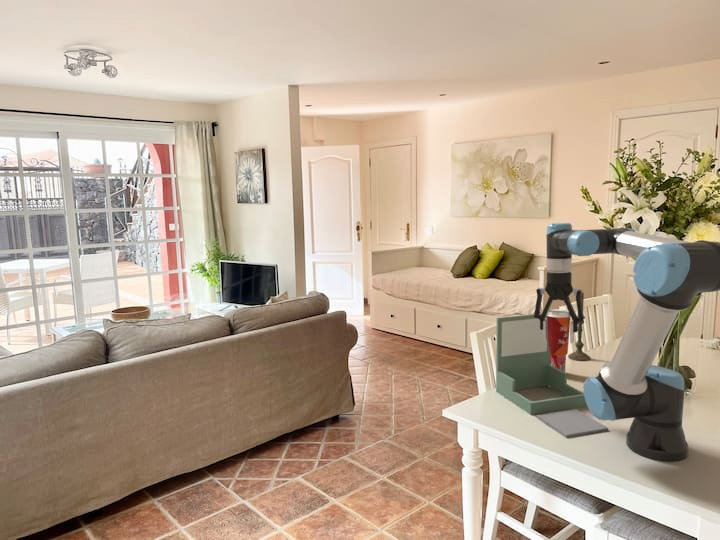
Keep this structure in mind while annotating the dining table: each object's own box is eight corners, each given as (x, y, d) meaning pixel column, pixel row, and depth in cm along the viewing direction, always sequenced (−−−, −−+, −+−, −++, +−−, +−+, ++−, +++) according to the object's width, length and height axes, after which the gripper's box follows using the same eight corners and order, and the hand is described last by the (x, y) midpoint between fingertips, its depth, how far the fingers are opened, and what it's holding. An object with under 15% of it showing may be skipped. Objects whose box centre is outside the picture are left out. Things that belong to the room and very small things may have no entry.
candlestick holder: (589, 355, 230) (591, 289, 226) (591, 361, 222) (593, 293, 218) (567, 354, 233) (568, 288, 229) (568, 360, 224) (570, 292, 220)
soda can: (567, 372, 209) (567, 341, 207) (563, 378, 203) (563, 346, 201) (548, 370, 213) (549, 339, 211) (544, 375, 207) (545, 343, 205)
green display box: (587, 406, 176) (589, 325, 172) (530, 414, 170) (531, 332, 166) (547, 384, 197) (549, 312, 193) (496, 391, 191) (496, 317, 187)
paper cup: (567, 357, 163) (567, 314, 162) (542, 354, 168) (542, 312, 166) (574, 351, 169) (574, 310, 168) (550, 349, 174) (550, 308, 173)
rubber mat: (608, 430, 157) (608, 427, 157) (565, 437, 153) (566, 435, 153) (575, 411, 172) (575, 409, 172) (536, 417, 168) (536, 415, 168)
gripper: (595, 270, 164) (594, 341, 166) (528, 269, 174) (528, 335, 177) (592, 273, 157) (591, 346, 160) (523, 271, 168) (523, 340, 170)
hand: (558, 340), depth 168 cm, fingers closed on paper cup, 8 cm apart
